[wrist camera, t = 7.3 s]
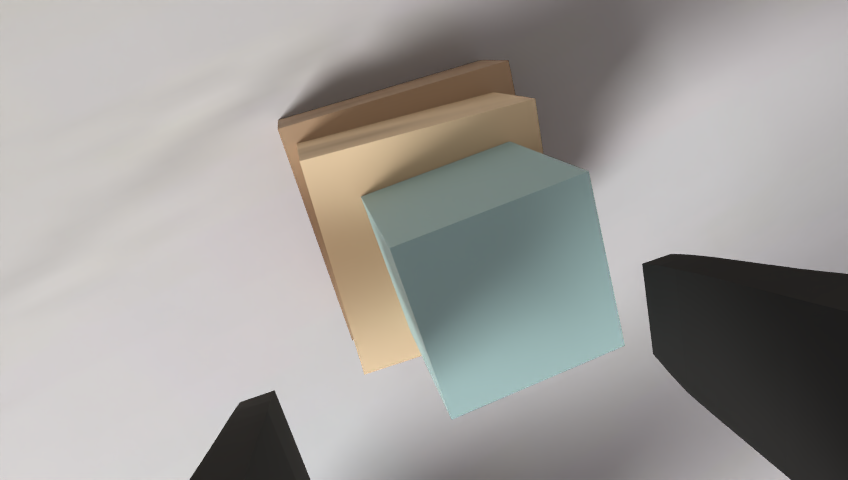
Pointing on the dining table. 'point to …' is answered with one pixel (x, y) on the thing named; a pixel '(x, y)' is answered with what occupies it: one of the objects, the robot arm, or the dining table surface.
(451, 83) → the tower base
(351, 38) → the dining table surface
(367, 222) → the tower top
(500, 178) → the teal cube
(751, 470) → the dining table surface
